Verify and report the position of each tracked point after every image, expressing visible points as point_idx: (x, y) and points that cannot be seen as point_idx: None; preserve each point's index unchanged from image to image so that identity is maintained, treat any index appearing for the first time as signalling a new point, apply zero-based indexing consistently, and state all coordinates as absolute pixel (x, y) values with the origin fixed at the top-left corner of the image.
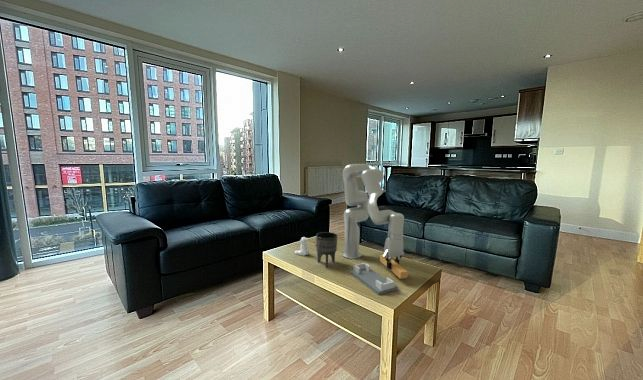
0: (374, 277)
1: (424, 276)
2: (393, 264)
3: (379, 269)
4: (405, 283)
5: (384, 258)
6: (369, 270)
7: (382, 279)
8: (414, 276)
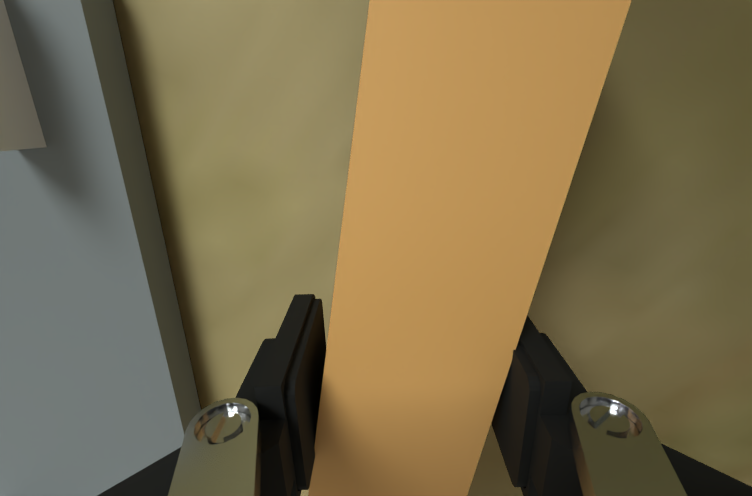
0: (41, 347)
1: (711, 460)
2: (357, 463)
3: (315, 59)
4: None
5: (364, 110)
6: (21, 148)
7: (127, 420)
8: None
